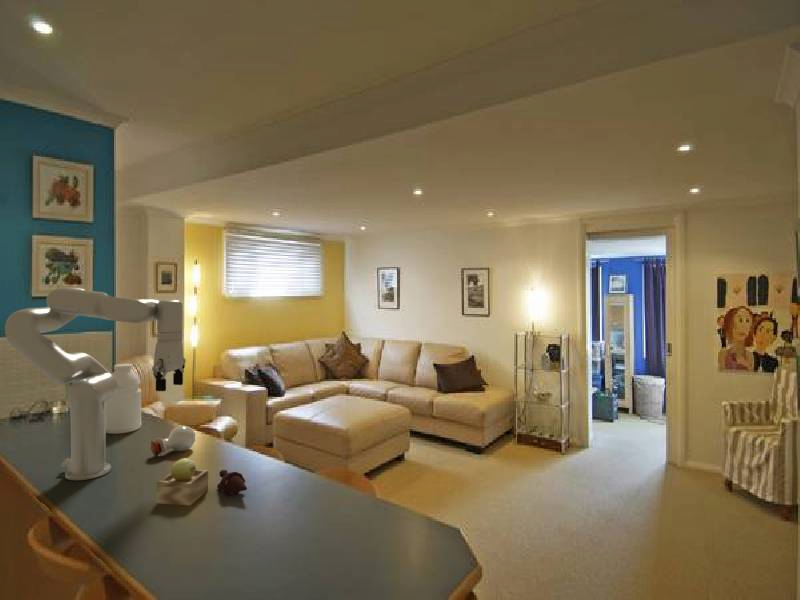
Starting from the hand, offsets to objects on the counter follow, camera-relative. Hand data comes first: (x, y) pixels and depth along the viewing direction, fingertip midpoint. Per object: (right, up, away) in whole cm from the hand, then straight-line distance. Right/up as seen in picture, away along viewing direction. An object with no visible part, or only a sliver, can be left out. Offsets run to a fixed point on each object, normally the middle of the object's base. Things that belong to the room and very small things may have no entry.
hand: (169, 387), depth 154 cm
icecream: (+27, -29, -16) cm, 43 cm away
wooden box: (+13, -29, -18) cm, 36 cm away
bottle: (-43, -27, +45) cm, 67 cm away
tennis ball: (+13, -24, -18) cm, 33 cm away
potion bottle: (-7, -28, +18) cm, 34 cm away
